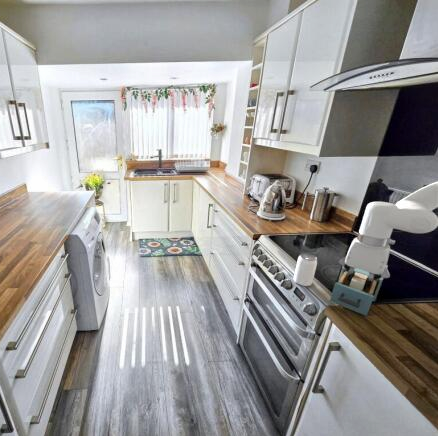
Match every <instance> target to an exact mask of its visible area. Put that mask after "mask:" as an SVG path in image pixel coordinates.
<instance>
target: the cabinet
mask: <svg viewBox="0 0 438 436" xmlns="http://www.w3.org/2000/svg"><path fill="white" fill-rule="evenodd" d="M350 267H351V266H350ZM386 267H387V268H388V267H389V265H388V264H387V265H386ZM345 271H347V270H346V269H345V268H344V266H342V267H341V270H340V274H339V277H338V280H337V283H339V281H340V279H341V277H342V276H343V274H344V272H345ZM354 272H355V273H356V272H357V273H360V274H363V275H366V276H369V272H367V271H364V270H360V269H357V268H355V269H354ZM376 280H377V283H376V286H375V289H374V291H373V294H372V295H374V298H373V301H372V302H374V303H375V302H376V300H377V297H378V294H379V291H380V288H381V287H382V283H383V280H384V278H380V279H376Z"/></svg>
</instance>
